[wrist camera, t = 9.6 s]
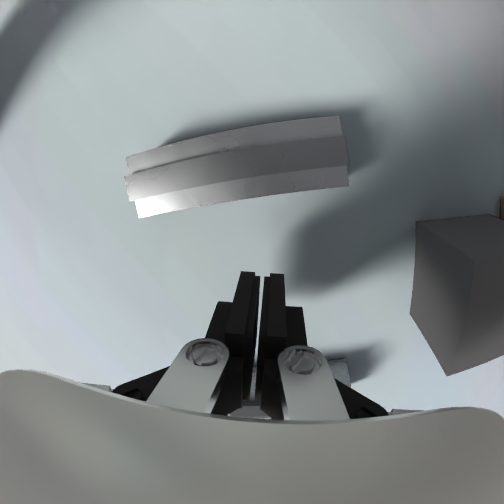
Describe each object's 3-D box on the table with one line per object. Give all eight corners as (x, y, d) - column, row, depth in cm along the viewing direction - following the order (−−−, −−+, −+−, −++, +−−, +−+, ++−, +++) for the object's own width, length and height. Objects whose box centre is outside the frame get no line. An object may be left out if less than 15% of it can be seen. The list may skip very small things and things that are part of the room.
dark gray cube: (415, 221, 11) (475, 261, 7) (488, 213, 10) (551, 245, 6) (409, 313, 13) (446, 376, 8) (477, 297, 12) (523, 345, 7)
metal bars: (148, 154, 11) (120, 157, 9) (330, 121, 10) (341, 113, 8) (216, 394, 16) (208, 422, 14) (343, 386, 15) (348, 416, 13)
